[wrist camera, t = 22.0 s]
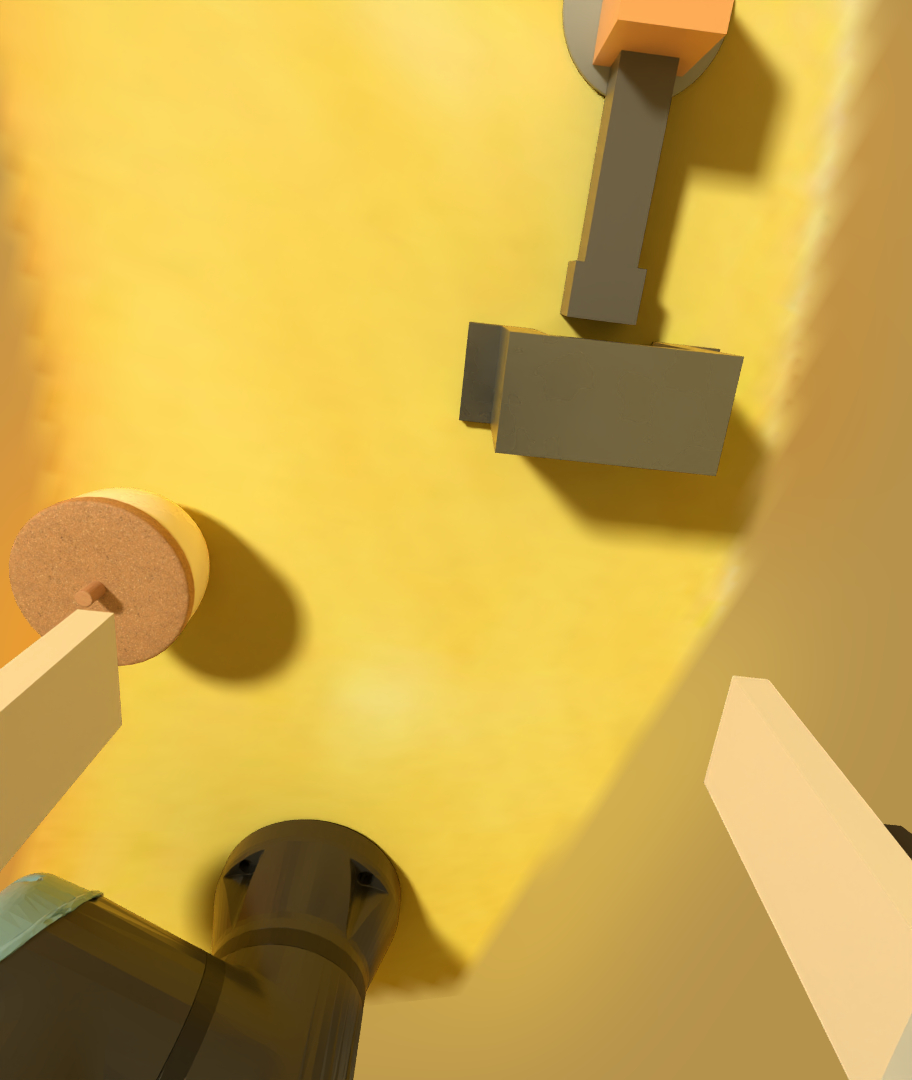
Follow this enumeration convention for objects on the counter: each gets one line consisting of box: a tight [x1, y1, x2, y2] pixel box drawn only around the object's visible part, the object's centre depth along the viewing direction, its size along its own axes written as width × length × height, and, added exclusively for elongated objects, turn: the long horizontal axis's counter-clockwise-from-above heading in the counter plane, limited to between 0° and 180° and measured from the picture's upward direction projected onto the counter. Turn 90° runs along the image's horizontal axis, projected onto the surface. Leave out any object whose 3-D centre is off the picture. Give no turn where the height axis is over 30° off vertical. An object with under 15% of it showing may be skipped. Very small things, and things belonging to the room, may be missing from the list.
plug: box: [560, 0, 734, 325], centre depth 35 cm, size 5×18×7 cm, turn 173°
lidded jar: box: [9, 487, 210, 666], centre depth 43 cm, size 11×11×9 cm
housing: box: [459, 322, 744, 476], centre depth 39 cm, size 16×6×10 cm, turn 84°
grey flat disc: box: [563, 0, 731, 97], centre depth 36 cm, size 9×9×1 cm
